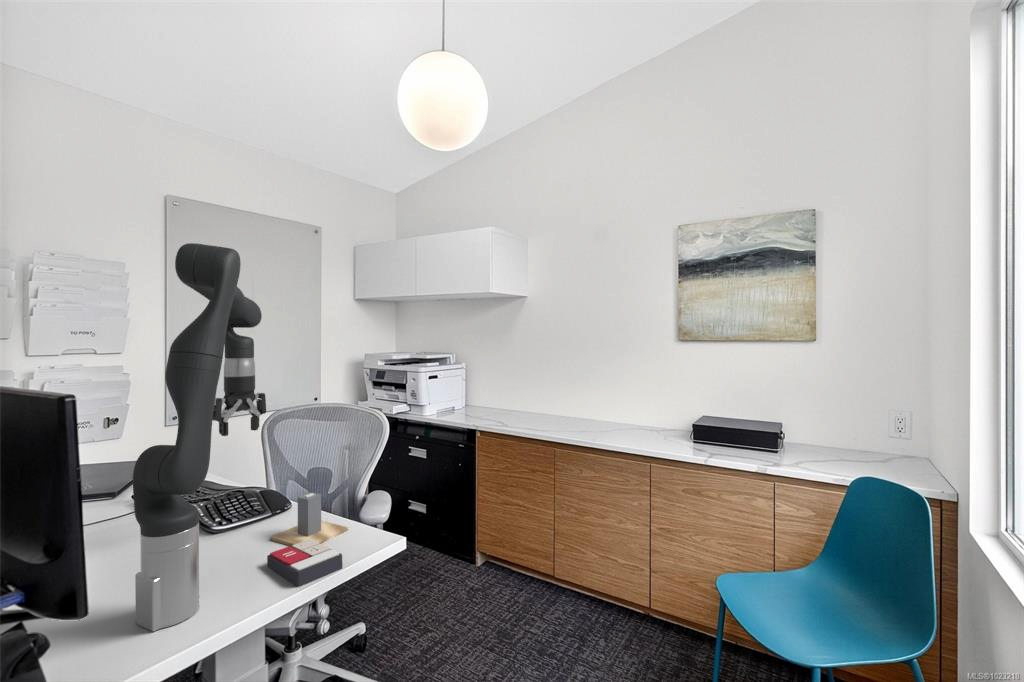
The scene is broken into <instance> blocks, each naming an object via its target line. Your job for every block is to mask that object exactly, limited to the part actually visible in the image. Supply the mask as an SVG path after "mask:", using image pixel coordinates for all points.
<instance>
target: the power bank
mask: <svg viewBox="0 0 1024 682" xmlns="http://www.w3.org/2000/svg"><path fill="white" fill-rule="evenodd" d="M321 521H322V494H321V493H315V492H309V493H306V494H303V495H300V496H298V497H297V525H298V534H300V535H304V536H310V535H313V534H315V533H317V532H319V531H321Z"/></svg>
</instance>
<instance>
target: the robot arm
mask: <svg viewBox="0 0 1024 682" xmlns="http://www.w3.org/2000/svg"><path fill="white" fill-rule="evenodd" d="M241 263H242V262H241V257H240V254H239V252H238V251H237V250H236V249H234V248H229V247H226V246H218V245H210V244H203V243H194V242H193V243H192V242H191V243H184V244H183V245H181V246H179V248H178V249H177V252H176V256H175V261H174V266H175V267H174V268H175V272H176V276H177V277H178V279H179V280H180V282H181V283H183V284H184V285H186V286H187V287H189V288H190V289H192V290H194V291H195V292H197V293H199V294H200V296H203V297H204V298H206V299H207V300H208V301H209V302H208V304H207V305H206V306H205V308H204V309H203V310H202V312H201V313H200V314H199V315H198V316H197V317H196V318H195V319H194V320H192V322H190V324H189V325H188V326H187V327H185V328H184V329H183V330H182V331H181V332H180V333H179V334H178V335H176V338H175V339H174V340H173V341H172V343H171V345H170V348H169V353H168V357H167V362H166V366H165V367H166V368H165V372H164V373H165V374H164V380H165V385H166V388H167V391H168V394H169V396H170V398H171V401H172V403H173V405H174V408H175V411H176V415H177V422H178V423H177V434H176V440H175V444H158V445H157V444H156V445H153V446H150V447H148V448H146V449H144V450H143V452H142V453H141V454H140V455H139V456H138V457H137V459H136V462H135V463H134V468H133V471H132V491H133V492H132V493H133V507H134V516H135V519H136V522H137V523H138V524H139V528H140V530H139V531H140V571H138V572H137V573H135V575H134V578H135V580H134V581H135V585H134V586H135V587H134V588H135V589H134V590H135V591H134V592H135V624H137V625H139V626H141V627H143V628H144V629H146V630H149V631H151V632H156V631H158V630H160V629H163V628H167V627H172V626H174V625H177V624H180V623H182V622H184V621H186V620H188V619H189V618H191V617H192V616H194V615H195V614H196V613H197V612H198V611H199V609H200V596H201V595H200V516H199V515H200V512H199V509H198V507H196V506H195V505H193V504H192V503H190V502H188V501H187V500H185V498H184V497H183V495H184V496H185V495H190V494H193V493H195V492H197V490H199V488H201V487H202V485H203V483H204V481H205V480H206V478H207V474H208V472H209V467H210V460H211V448H212V445H211V444H212V430H213V429H212V427H213V421H216V422H218V434H219V435H220V436H221V437H228V436H229V422H228V421H229V419H230V418H231V416H233V415H234V414H235V412H236V413H237V412H242V411H247V412H248V413H249V415H251V417H250V430H251V431H258V430H259V428H260V417H261V416H262V415H263V414H264V415H265V414H266V413H267V402H266V401H267V400H266V393H264V392H257V393H255V390H256V362H255V341H254V339H253V338H252V337H250V336H245V335H240V334H238V333H236V332H235V330H234V328H235V329H236V328H238V329H243V328H246V329H250V328H255V327H257V326H258V325H260V323H261V321H262V310H261V308H260V306H259V305H258V304H257V302H256V301H253V299H250V298H249V297H247V296H245V294H244V293H243V291H242V290H241V289H240V288H239V287H238V282H239V279H240V273H241ZM223 359H224V363H223ZM222 364H223V365H222ZM222 366H223V393H224V396H223V397H216V396H217V392H218V391H217V389H218V385H219V379H220V374H221V371H222V370H221V369H222ZM254 401H256V405H255V404H254ZM224 404H225V406H224ZM223 406H224V407H223ZM222 407H223V409H222Z"/></svg>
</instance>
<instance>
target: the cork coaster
mask: <svg viewBox="0 0 1024 682" xmlns="http://www.w3.org/2000/svg"><path fill="white" fill-rule="evenodd" d="M348 531H349V527H348V526H345V525H340V524H337V523H332V522H328V521H324V520H321V531H319V532H317V533H315V534H313V535H310V536H304V535H300V534H298V524H297V525H295V526H293V527H290V528H287V529H286V530H284V531H281V532H279V533H277V534H275V535H272V536H270V538H269V540H270V541H271V542H275V543H279V544H282V545H286V546H288V547H292V545H294V544H297V543H300V542H303V541H306V540H309V539H311V540H313V541H315V542H318V543H319V544H323V543H326V542H327V541H329V540H331V539H333V538H335V537H337V536H340V535H341V534H343V533H345V532H348Z"/></svg>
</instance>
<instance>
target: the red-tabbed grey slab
mask: <svg viewBox="0 0 1024 682" xmlns="http://www.w3.org/2000/svg"><path fill="white" fill-rule="evenodd" d="M266 557H267V559H266V560H267V561H266V563H267V568H268V569H270V570H271V571H272V572H274V573H276V574H277V575H279V576H280V577H282V578H284V579H286V580H287V582H289V583H290V585H293V586H294V587H296V588H301V587H303V586H306V585H307V584H310V583H312V582H314V581H317V580H320V579H321V578H324V577H326V576H328V575H332V574H333V573H335V572H338V571H341V570H342V569H343V553H340V552H339V551H336V550H334V549H331V548H330V546H326V545H325V544H323V543H321V544H319V543H318V542H315V541H313V540H311V539H309V540H306V541H303V542H300V543H297V544H294V545H292V546H286V547H283V548H280V549H278V550H275V551H272V552H270V553H269V554H268V555H267V556H266Z"/></svg>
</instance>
